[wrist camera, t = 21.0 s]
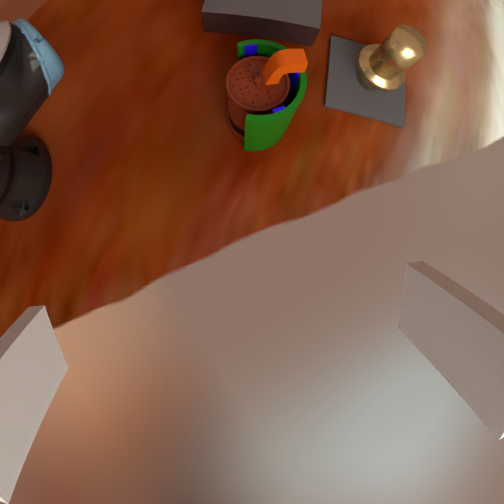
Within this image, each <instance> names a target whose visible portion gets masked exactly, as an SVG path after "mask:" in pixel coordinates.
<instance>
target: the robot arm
mask: <svg viewBox="0 0 504 504" xmlns="http://www.w3.org/2000/svg"><path fill="white" fill-rule="evenodd" d="M63 73H64V64H63V62H62V60H61V58H60V57H59V55H58V54H57V53H56V51H55V50H54V49H53V47H52V46H51V45H50V44H49V43H48V42H47V40H46V39H45V38H43V37H42V35H41V34H40V33H39V32H38V31H37V30H36V29H35V28H34V27H33V26H32V25H31V24H30V23H29V22H28V21H26V20H25V19H23V18H18V19H17V20H16V21H14V22H12V23H10V22H8V21H7V20H4V19H0V218H1V219H3V220H7V221H21V220H25V219H27V218H29V217H31V216H32V215H33V214H34V213H36V212H37V210H38V209H39V208H40V207H41V205H42V204H43V202H44V200H45V198H46V196H47V194H48V191H49V187H50V183H51V176H52V165H51V159H50V155H49V152H48V150H47V148H46V146H45V145H44V144H43V143H42V142H41V141H40V140H39V139H37V138H35V137H32V136H29V135H25V134H21V132H22V131H23V129H24V128H25V126H26V125H27V124H28V122H29V121H30V119H31V118H32V117H33V115H34V114H35V113H36V111H37V110H38V109H39V108H40V106H41V105H42V104H43V102H44V101H45V100H46V99H47V97H49V96H50V94H51V92H52V90H53V89H54V87H55V86H56V85H57V83H58V82H59V81H60V79H61V78H62V76H63ZM398 328H399V329H400V330H401V331H402V332H403V333H404V334H405V335H406V337H408V339H409V340H410V341H411V342H412V343H413V344H414V345H415V346H416V347H417V348H418V349H419V350H420V351H421V353H422V354H423V355H424V356H425V357H426V358H427V359H428V360H429V361H430V362H431V363H432V365H433V366H434V367H435V368H436V369H437V370H438V371H439V372H440V373H441V374H442V376H443V377H444V378H445V379H446V380H447V381H448V382H449V383H450V384H451V386H452V387H453V388H454V389H455V390H456V391H457V392H458V393H459V395H460V396H461V397H462V398H463V399H464V400H465V401H466V403H467V404H468V405H469V406H470V407H471V408H472V410H473V411H474V412H475V413H476V414H477V415H478V417H479V418H480V419H481V420H482V421H483V422H484V423H485V425H486V426H487V427H488V428H489V430H490V431H491V432H492V433H493V434H494V435H495V437H496V438H497V439H498V440H500V439H502V438H503V437H504V314H502V313H501V312H499V311H498V310H496V309H495V308H493V307H492V306H491V305H489V304H488V303H486V302H485V301H483V300H482V299H480V298H479V297H477V296H476V295H474V294H473V293H472V292H470V291H469V290H467V289H466V288H464V287H462V286H461V285H459V284H458V283H456V282H455V281H453V280H452V279H450V278H449V277H447V276H446V275H444V274H442V273H441V272H439V271H438V270H436V269H435V268H433V267H431V266H430V265H428V264H427V263H425V262H423V261H418V262H413V263H407V264H406V271H405V281H404V290H403V298H402V306H401V314H400V320H399V326H398ZM67 370H68V365H67V363H66V361H65V358H64V356H63V354H62V351H61V349H60V346H59V344H58V341H57V339H56V336H55V333H54V331H53V328H52V325H51V323H50V320H49V317H48V314H47V311H46V308H45V306H32V307H28V308H27V309H26V310H25V311H24V313H23V314H22V315H21V316H20V317H19V318H18V319H17V320H16V321H15V322H14V323H13V324H12V326H11V327H10V328H9V329H8V330H7V331H6V332H5V333H4V335H3V336H2V337H1V338H0V501H1V502H4V503H7V504H9V501H10V499H11V496H12V493H13V490H14V487H15V485H16V482H17V479H18V477H19V474H20V471H21V469H22V466H23V464H24V462H25V459H26V457H27V454H28V452H29V450H30V447H31V445H32V443H33V440H34V438H35V436H36V433H37V431H38V429H39V427H40V425H41V422H42V420H43V418H44V416H45V414H46V412H47V409H48V407H49V405H50V403H51V401H52V399H53V397H54V395H55V393H56V391H57V389H58V387H59V385H60V383H61V381H62V379H63V377H64V375H65V373H66V371H67Z"/></svg>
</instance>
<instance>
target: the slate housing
mask: <svg viewBox="0 0 504 504" xmlns="http://www.w3.org/2000/svg"><path fill="white" fill-rule="evenodd" d="M321 12H322V0H205V1H204V4H203V7H202V10H201V15H202V21H203V27H204V31H208V32H221V33H231V34H240V35H248V36H256V37H263V38H269V39H275V40H281V41H287V42H292V43H297V44H302V45H307V46H311V47H312V45H313V43H314V41H315V39H316V37H317V34H318V32H319V30H320V24H321Z"/></svg>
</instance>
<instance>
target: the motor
mask: <svg viewBox="0 0 504 504" xmlns="http://www.w3.org/2000/svg"><path fill="white" fill-rule="evenodd" d="M307 65H308V62H307V59H306V55H305V52H304V49H288V48H286V47H284V46H283V45H281V44H278V43H276V42H273V41H269V40H261V39H253V40H246V41H242V42H239V43H237V63H235V64H234V65H233V66H232V67H231V69H230V70H229V72H228V74H227V78H226V89H227V98H228V107H229V108H228V112H227V118H228V124H229V127H230V130H231V131H232V133H233V134H234V135H235V136H236V137H237V138H239V139H240V140H242V141H244V150H248V151H259V150H264V149H267V148H269V147H271V146H273V145H274V144H276V143H277V142H278V141H279V140H280V139H281V137H282V136H283V134H284V132H285V130H286V129H287V127H288V125H289V123H290V121H291V119H292V117H293V115H294V113H295V111H296V110H297V108H298V106H299V104H300V102H301V100H302V98H303V96H304V94H305V91H306V85H307V78H306V73H305V69H306V67H307Z"/></svg>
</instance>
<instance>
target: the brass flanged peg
mask: <svg viewBox="0 0 504 504" xmlns="http://www.w3.org/2000/svg"><path fill="white" fill-rule="evenodd" d="M427 50H428V46H427V42H426V40H425V38H424V37H423V36H422V34H421V33H420V32H419V31H417V30H416V29H415V28H413V27H411V26H408V25H400V26H398V27H397V28H396V29H395V30H394V31H393V32H392V33H391V34H390V35H389V36H388V37H387V38H386V39H385V40H384V41H383V42H382V44H370V45H367V46H365V47H364V48H363V49H362V50H361V52H360V53H359V54H358V57H357V67H358V70H359V71H358V73H357V79H358V82H359V83H360V85H361V86H362V87H364V88H365V89H367V90H370V91H374V90H377V89H378V90H381V91H393V90H396V89H397V88H399V87H400V86H401V85H402V84H403V83H404V82H405V79H406V69H407V68H408V67H410V66H411V65H412V64H414V63H415V62H416V61H417V60H419V59H420V58H421V57H423V56H424V55H425V54H426V53H427Z"/></svg>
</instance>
